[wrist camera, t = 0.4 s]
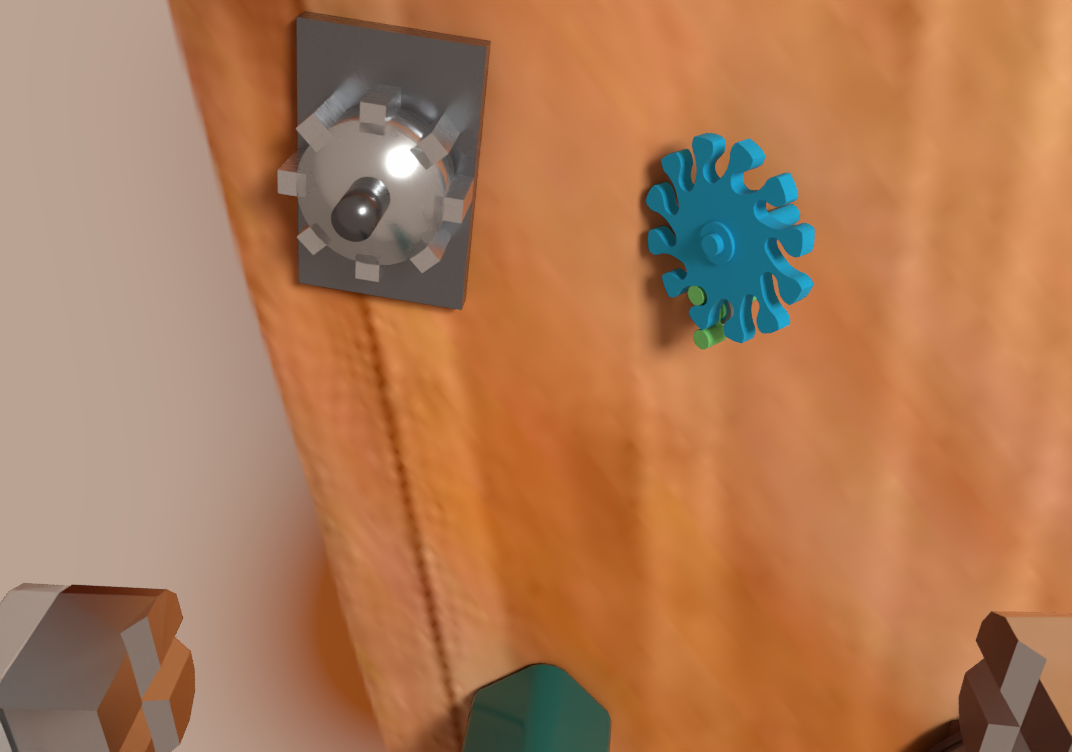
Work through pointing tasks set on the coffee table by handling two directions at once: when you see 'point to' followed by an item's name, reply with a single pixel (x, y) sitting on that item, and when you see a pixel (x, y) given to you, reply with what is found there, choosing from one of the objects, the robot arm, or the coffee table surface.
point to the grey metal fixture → (386, 157)
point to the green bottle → (536, 715)
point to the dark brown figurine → (951, 740)
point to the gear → (729, 240)
